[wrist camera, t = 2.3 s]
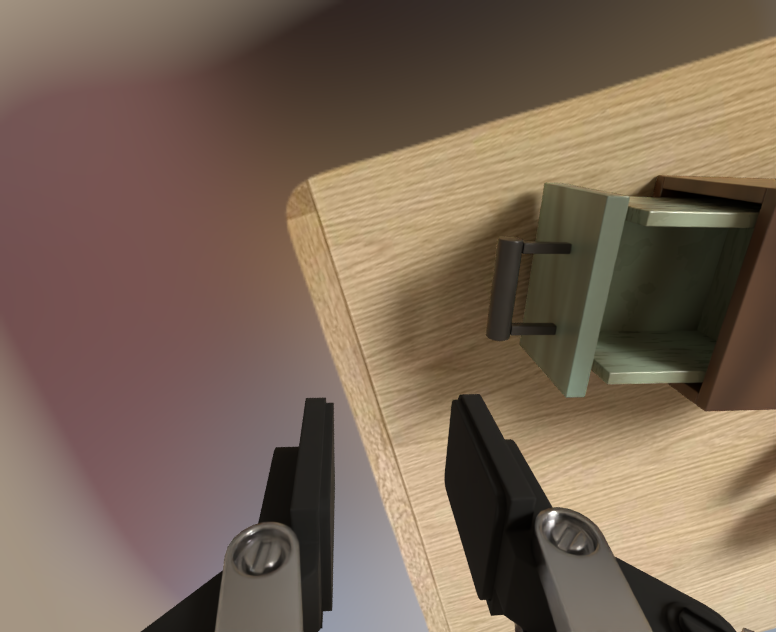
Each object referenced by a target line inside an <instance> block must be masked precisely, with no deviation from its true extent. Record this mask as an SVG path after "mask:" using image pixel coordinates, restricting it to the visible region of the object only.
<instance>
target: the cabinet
mask: <svg viewBox="0 0 776 632" xmlns="http://www.w3.org/2000/svg"><path fill="white" fill-rule="evenodd" d="M653 197H669V198H710V199H734V200H741V201H748V202H754V203H761V204H762V206H761V209H760V212H759V215H758V218H757V221H756V224H755V227H754V230H753V233H752V236H751V239H750V242H749V245H748V248H747V251H746V254H745V257H744V260H743V263H742V266H741V269H740V272H739V275H738V278H737V281H736V284H735V287H734V290H733V293H732V296H731V299H730V302H729V305H728V308H727V311H726V314H725V317H724V320H723V323H722V326H721V329H720V332H719V335H718V338H717V341H716V344H715V347H714V350H713V353H712V356H711V359H710V362H709V365H708V368H707V371H706V374H705V377H704V380H703V382H696V383H667V384H669V385H670V386H671V387H673V388H674V389H676V390H677V391H678V392H680V393H681V394H682V395H684V396H685V397H686V398H688V399H689V400H690V401H692V402H693V403H694V404H696V405H697V406H698V407H700V408H701V409H702V410H704V411H735V410H770V409H776V179H766V178H732V177H698V176H664V175H659V176H658V177H657V181H656V185H655V189H654V193H653Z"/></svg>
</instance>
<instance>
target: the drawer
mask: <svg viewBox="0 0 776 632" xmlns="http://www.w3.org/2000/svg"><path fill="white" fill-rule="evenodd" d="M761 206H762V204H761V203H754V202H748V201H741V200H734V199H710V198H669V197H629V196H626V195H621V194H615V193H610V192H605V191H600V190H595V189H590V188H584V187H579V186H574V185H569V184H564V183H545V184H544V190H543V196H542V203H541V209H540V216H539V222H538V228H537V235H536V241H523V239H521V238H518V237H512V236H502V237H498V240H497V249H496V257H495V265H494V273H493V281H492V289H491V297H490V305H489V313H488V321H487V329H486V336H487V337H488V338H489V339H492V340H495V341H506V340H508V339H509V337H510V335H521V338H520V346H521V347H522V348H523V349H524V350H525V351H526V352H527V354H528V355H529V356H530V357H531V358H532V359H533V360H534V362H535V363H536V364H537V365H538V366H539V367H540V369H541V370H542V371H543V372H544V373H545V374H546V375H547V377H548V378H549V379H550V380H551V381H552V382H553V383H554V385H555V386H556V387H557V388H558V389H559V390H560V391H561V393H562V394H563V395H564V396H565V397H566V398H570V397H585V394H586V390H587V385H588V381H589V376H590V372H591V370H592V371H593V372H594V373H595V374H596V375H598V376H599V377H600V378H601V379H602V380H603V381H604V382H605V383H606V384H649V383H696V382H703V380H704V377H705V374H706V371H707V368H708V365H709V362H710V359H711V356H712V353H713V350H714V347H715V344H716V341H717V338H718V335H719V332H720V329H721V326H722V323H723V320H724V317H725V314H726V311H727V308H728V305H729V302H730V299H731V296H732V293H733V290H734V287H735V284H736V281H737V278H738V275H739V272H740V269H741V266H742V263H743V260H744V257H745V254H746V251H747V248H748V245H749V242H750V239H751V236H752V233H753V230H754V227H755V224H756V221H757V218H758V215H759V212H760V209H761ZM522 253H523V254H533V261H532V267H531V273H530V280H529V286H528V293H527V299H526V306H525V312H524V318H523V323H512V317H513V310H514V303H515V296H516V289H517V282H518V275H519V268H520V262H521V255H522Z"/></svg>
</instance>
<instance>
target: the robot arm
mask: <svg viewBox="0 0 776 632" xmlns="http://www.w3.org/2000/svg"><path fill="white" fill-rule="evenodd" d="M445 487H446V491H447V495H448V498H449V501H450V505H451V508H452V511H453V515H454V518H455V522H456V525H457V528H458V532H459V535H460V538H461V542H462V545H463V548H464V552H465V555H466V558H467V562H468V565H469V569H470V572H471V575H472V579H473V582H474V585H475V589H476V592H477V595H478V598H479V599H480V600H486V601H487V605H488V608H489V611H490V614H491V616H494V615H504V616H506V617H507V618H509V619H510V620H512V621H513V622H514V623H515V632H736V631H735V629H734V628H733V627H732V626H731V624H730V623H729V622H727V621H726V620H725V619H724V618H723V617H722V616H721V615H720V614H718V613H717V612H715V611H714V610H712V609H711V608H709V607H708V606H706V605H705V604H703V603H701V602H699V601H697V600H695V599H693V598H691V597H690V596H688V595H686V594H684V593H682V592H680V591H678V590H677V589H675V588H673V587H671V586H669V585H667V584H665V583H663V582H662V581H660V580H658V579H656V578H654V577H652V576H650V575H648V574H647V573H645V572H643V571H641V570H639V569H637V568H635V567H634V566H632V565H630V564H628V563H626V562H624V561H622V560H620V559H619V558H617V557H615V556H614V555H613V553H612V551H611V549H610V547H609V545H608V543H607V541H606V539H605V537H604V535H603V534H602V532H601V531H600V529H599V528H598V526H597V525H595V524H594V523H593V522H592V521H591V520H590V519H589V518H587V517H585V516H584V515H582V514H580V513H578V512H576V511H573V510H570V509H566V508H560V507H555V508H553V507H552V506H551V504H550V502H549V500H548V499H547V497H546V495H545V493H544V492H543V490H542V488H541V486H540V485H539V483H538V481H537V479H536V478H535V476H534V474H533V472H532V471H531V469H530V467H529V465H528V464H527V462H526V460H525V459H524V457H523V455H522V453H521V452H520V450H519V448H518V446H517V445H516V443H515V442H514V441H513V440H511V439H510V440H505V439H504V437H503V435H502V434H501V432H500V430H499V428H498V426H497V424H496V423H495V421H494V419H493V417H492V415H491V413H490V411H489V410H488V408H487V406H486V404H485V402H484V400H483V399H482V397H481V395H480V394H463V395H459V398H458V400H453V401H452V405H451V415H450V426H449V436H448V446H447V456H446V466H445ZM334 500H335V467H334V403H326V398H306V401H305V408H304V416H303V422H302V429H301V437H300V443H299V447H276V448H275V450H274V454H273V458H272V463H271V467H270V472H269V477H268V481H267V486H266V491H265V495H264V499H263V504H262V509H261V514H260V518H259V522H258V524H255V525H252V526H250V527H248V528H246V529H245V530H243V531H241V532H240V533H239V534H238V535H237V536H236V537H234V539H233V540H232V541H231V543H230V544H229V546H228V548H227V551H226V554H225V559H224V566H223V571H221V572H220V573H219V574H217V575H216V576H215V577H213V578H212V579H211V580H209V581H208V582H207V583H205V584H204V585H203V586H201V587H200V588H199V589H197V590H196V591H195V592H193V593H192V594H191V595H189V596H188V597H187V598H185V599H184V600H183V601H181V602H180V603H179V604H177V605H176V606H175V607H173V608H172V609H171V610H169V611H168V612H167V613H165V614H164V615H163V616H161V617H160V618H159V619H157V620H156V621H155V622H153V623H152V624H151V625H149V626H148V627H147V628H145V629H144V630H143V631H141V632H318V631H319V630H320V629H321V628H322V622H323V611H332V597H333V595H332V594H333V548H334V547H333V546H334ZM741 632H754V631H751V630H749V629H746V628H743V629H742V631H741Z"/></svg>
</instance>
